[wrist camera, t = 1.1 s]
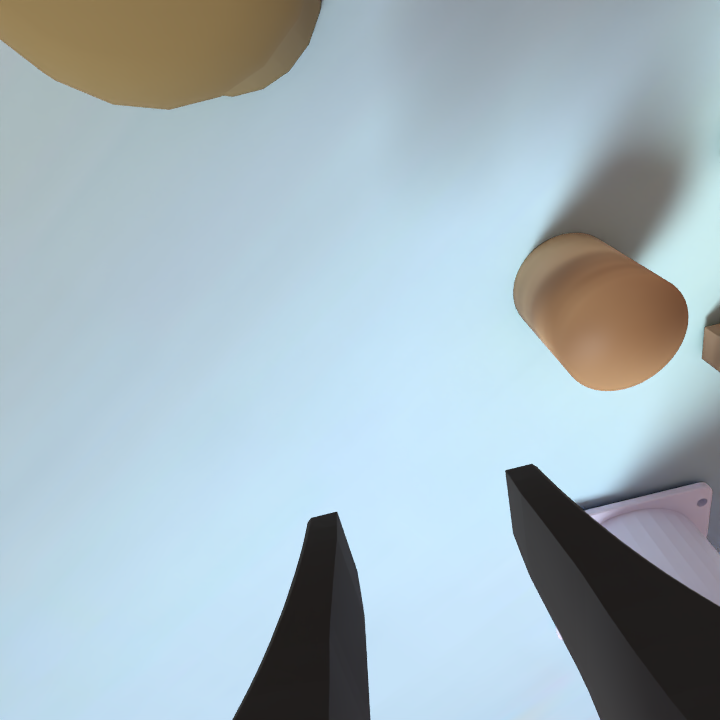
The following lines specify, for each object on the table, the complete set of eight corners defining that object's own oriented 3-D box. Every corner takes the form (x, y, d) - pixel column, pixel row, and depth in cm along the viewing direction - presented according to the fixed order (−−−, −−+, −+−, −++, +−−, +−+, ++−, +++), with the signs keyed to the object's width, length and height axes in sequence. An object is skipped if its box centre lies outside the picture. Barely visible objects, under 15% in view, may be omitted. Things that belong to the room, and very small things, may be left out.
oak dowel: (615, 317, 22) (684, 374, 18) (517, 342, 22) (565, 403, 18) (615, 220, 20) (692, 261, 16) (508, 247, 20) (559, 294, 16)
